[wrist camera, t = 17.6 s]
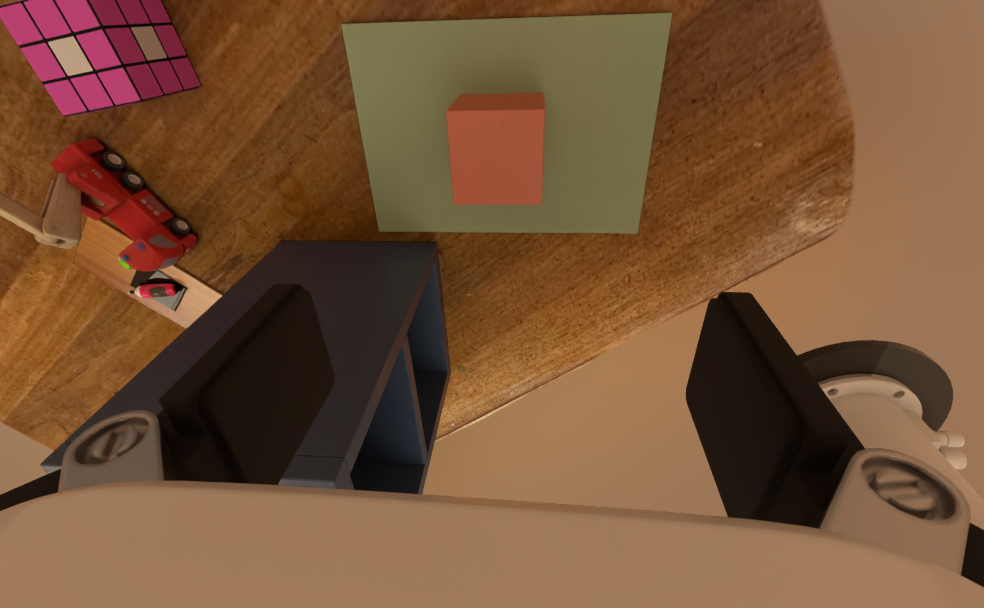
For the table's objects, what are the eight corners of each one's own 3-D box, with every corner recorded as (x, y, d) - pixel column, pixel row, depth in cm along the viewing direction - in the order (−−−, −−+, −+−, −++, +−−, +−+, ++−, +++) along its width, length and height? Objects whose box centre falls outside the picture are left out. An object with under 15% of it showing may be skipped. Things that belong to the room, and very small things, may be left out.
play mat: (671, 12, 27) (672, 12, 26) (636, 231, 34) (637, 233, 34) (343, 23, 29) (340, 24, 28) (380, 229, 36) (378, 231, 36)
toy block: (544, 92, 29) (545, 109, 25) (541, 176, 32) (541, 205, 28) (459, 94, 30) (445, 110, 25) (465, 177, 33) (453, 205, 28)
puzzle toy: (132, 101, 32) (62, 117, 28) (80, 6, 29) (-8, 7, 25) (202, 87, 31) (143, 101, 27) (156, -12, 28) (79, -16, 24)
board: (90, 212, 38) (75, 220, 36) (226, 296, 41) (216, 305, 40) (74, 262, 41) (60, 270, 39) (203, 336, 44) (193, 345, 43)
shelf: (436, 241, 36) (334, 481, 18) (450, 373, 44) (388, 635, 26) (282, 240, 38) (37, 464, 19) (321, 368, 45) (174, 616, 27)
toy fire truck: (182, 258, 39) (91, 323, 31) (30, 113, 33) (-131, 147, 25) (207, 240, 38) (118, 303, 30) (53, 87, 32) (-108, 114, 24)
